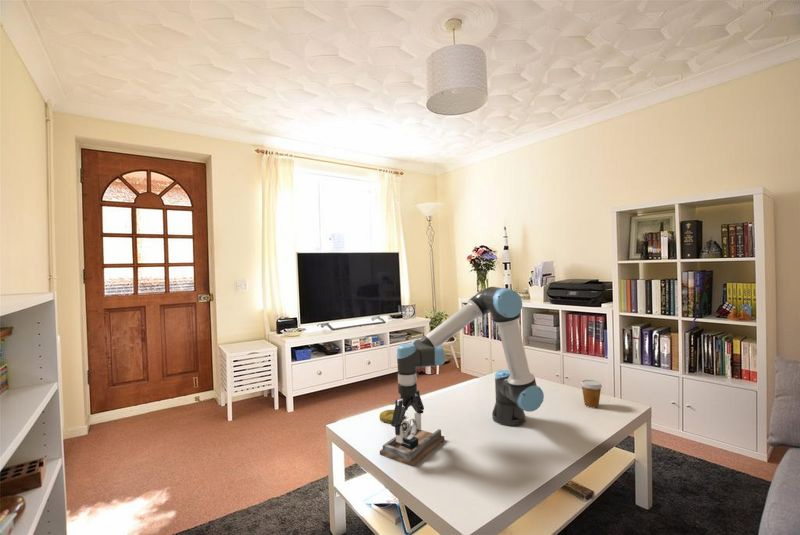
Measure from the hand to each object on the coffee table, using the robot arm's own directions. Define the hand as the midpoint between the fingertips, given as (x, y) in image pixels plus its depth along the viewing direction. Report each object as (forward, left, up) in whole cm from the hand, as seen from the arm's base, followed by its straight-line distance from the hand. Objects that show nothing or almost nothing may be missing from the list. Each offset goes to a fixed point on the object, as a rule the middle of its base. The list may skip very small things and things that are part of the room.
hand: (409, 435), depth 152 cm
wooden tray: (0, -3, -6) cm, 7 cm away
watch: (0, 0, -5) cm, 5 cm away
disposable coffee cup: (-54, -86, -6) cm, 102 cm away
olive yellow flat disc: (+24, -21, -7) cm, 33 cm away
